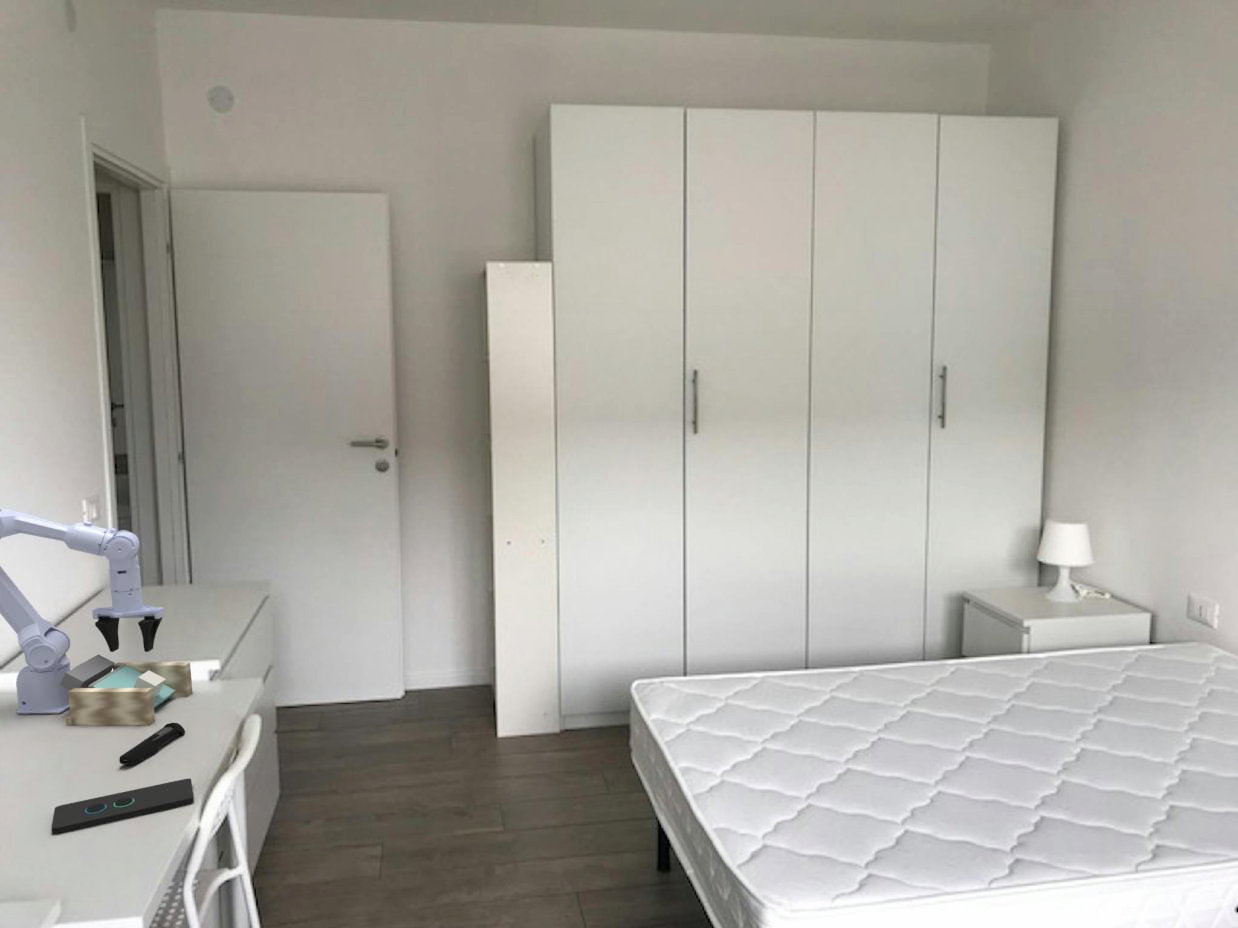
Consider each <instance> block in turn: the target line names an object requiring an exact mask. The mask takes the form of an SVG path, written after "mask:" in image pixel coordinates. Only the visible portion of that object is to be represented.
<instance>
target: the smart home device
mask: <svg viewBox="0 0 1238 928" xmlns="http://www.w3.org/2000/svg"><path fill="white" fill-rule="evenodd" d="M192 783H193V782H192V778H183V779H178V780H174V781H170V782H165V783H159V784H154V785H150V786H146V787H141V788H136V789H131V790H125V791H123V792H117V793H116V792H115V793H113V794H109V795H108V794H107V795H101V796H99V797H94V798H89V799H83V800H79V801H75V802H70V803H65V804H62V805H58V806H57V805H56V806H55V807H54V810H53V811H54V812H53V817H52V822H51V835H53V836H54V835H55V836H56V835H61V834H66V833H70V832H74V831H79V830H84V829H88V828H92V827H97V826H101V825H107V824H110V823H114V822H119V821H120V822H121V821H124V820H128V819H132V818H137V817H141V816H145V815H149V814H155V813H158V812H159V813H160V812H163V811H168V810H172V809H177V808H180V807H185V806H190V805H192V804H194V802H195V801H194V800H195V799H194V791H193V784H192Z"/></svg>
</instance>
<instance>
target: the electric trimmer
mask: <svg viewBox="0 0 1238 928" xmlns="http://www.w3.org/2000/svg"><path fill="white" fill-rule="evenodd" d="M185 733H186V730H185V728H184V727H183V725H181V724H180V723H178V722H169V723H166V724H165V725H164V726H163V727H162V728H160V729H159V730H157V731H156V732H155V733H153V734H151V735H149V736H148V737H146V738H145V739H144V740H143V741H141V742H140V743H138V744H137V745H135V746H133V747H132V748H131V749H129V750H128V751H126V752H125V753H123V754H122V755H120V756H119V764H121V765H129V766H130V765H131V766H132V765H134V764H136V763H138V762H140V761H142V760H144V759H146V758H149V757H151V755H154V754H156V753H157V752H158V750H159V748H161V747H162V746H164V745H166V744H167V743H169V742H171V741H172V740H174V739H175V738H177V737H180V736H181V737H183V736H184V735H185Z"/></svg>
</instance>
